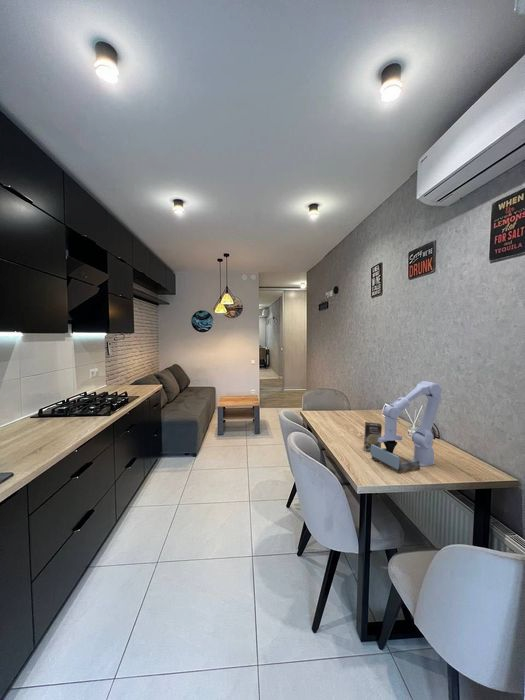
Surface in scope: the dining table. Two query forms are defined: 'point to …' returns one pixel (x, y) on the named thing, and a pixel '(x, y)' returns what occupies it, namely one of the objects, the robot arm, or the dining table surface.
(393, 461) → the bar
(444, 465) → the dining table surface
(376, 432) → the coffee box
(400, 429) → the dining table surface
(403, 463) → the flatbed
